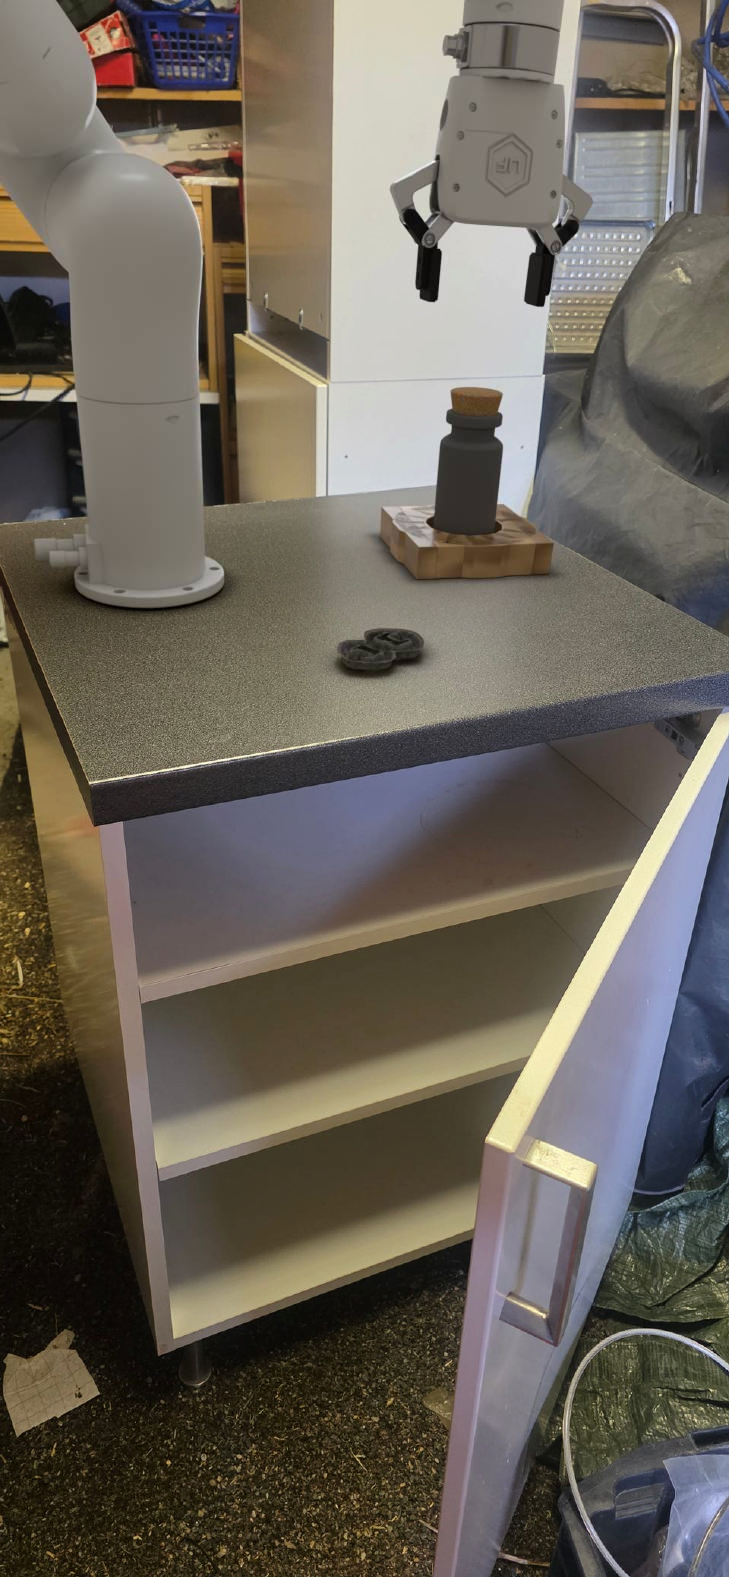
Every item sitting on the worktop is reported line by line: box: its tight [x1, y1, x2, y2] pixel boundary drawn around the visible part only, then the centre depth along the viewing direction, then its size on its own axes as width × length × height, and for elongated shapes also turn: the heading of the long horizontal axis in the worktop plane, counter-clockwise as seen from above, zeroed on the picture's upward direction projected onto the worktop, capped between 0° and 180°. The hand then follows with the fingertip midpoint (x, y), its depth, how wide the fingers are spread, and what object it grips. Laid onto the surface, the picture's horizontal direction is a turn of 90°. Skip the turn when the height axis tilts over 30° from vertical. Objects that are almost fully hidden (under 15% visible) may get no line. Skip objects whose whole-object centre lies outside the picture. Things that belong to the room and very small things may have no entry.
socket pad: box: [379, 503, 555, 580], centre depth 99 cm, size 14×14×3 cm
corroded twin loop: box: [336, 627, 425, 670], centre depth 77 cm, size 5×8×1 cm, turn 141°
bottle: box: [433, 386, 504, 536], centre depth 96 cm, size 6×6×15 cm
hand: (481, 303), depth 88 cm, fingers open, 9 cm apart
